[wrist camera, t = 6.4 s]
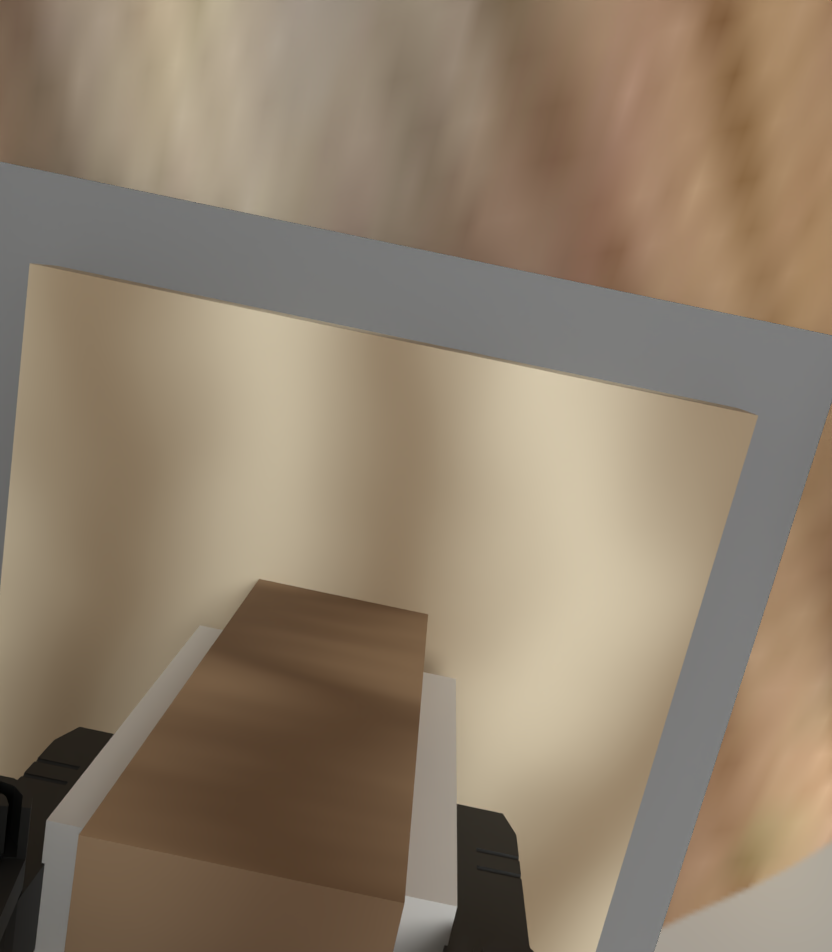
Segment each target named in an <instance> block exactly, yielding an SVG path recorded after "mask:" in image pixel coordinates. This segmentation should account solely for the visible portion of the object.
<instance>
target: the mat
mask: <svg viewBox="0 0 832 952" xmlns="http://www.w3.org/2000/svg"><path fill="white" fill-rule="evenodd" d="M30 263H33V264H44V265H54V266H61V267H65V268H70V269H75V270H80V271H85V272H89V273H94V274H99V275H104V276H108V277H113V278H118V279H123V280H128V281H132V282H137V283H142V284H147V285H152V286H156V287H161V288H166V289H171V290H175V291H180V292H185V293H190V294H195V295H199V296H204V297H209V298H214V299H218V300H223V301H228V302H233V303H238V304H242V305H247V306H252V307H257V308H262V309H266V310H271V311H276V312H281V313H285V314H290V315H295V316H300V317H305V318H309V319H314V320H319V321H324V322H329V323H333V324H338V325H343V326H348V327H352V328H357V329H362V330H367V331H372V332H376V333H381V334H386V335H391V336H396V337H400V338H405V339H410V340H415V341H419V342H424V343H429V344H434V345H439V346H443V347H448V348H453V349H458V350H462V351H467V352H472V353H477V354H482V355H486V356H491V357H496V358H501V359H506V360H510V361H515V362H520V363H525V364H529V365H534V366H539V367H544V368H549V369H553V370H558V371H563V372H568V373H573V374H577V375H582V376H587V377H592V378H596V379H601V380H606V381H611V382H616V383H620V384H625V385H630V386H635V387H640V388H644V389H649V390H654V391H659V392H663V393H668V394H673V395H678V396H683V397H687V398H692V399H697V400H702V401H707V402H711V403H716V404H721V405H726V406H730V407H735V408H739V409H742V410H745V411H748V412H750V413H753V414H756V415H758V418H757V421H756V425H755V428H754V431H753V435H752V438H751V441H750V445H749V448H748V451H747V454H746V458H745V461H744V464H743V468H742V471H741V474H740V478H739V481H738V484H737V487H736V491H735V494H734V497H733V501H732V504H731V507H730V510H729V514H728V517H727V520H726V524H725V527H724V530H723V534H722V537H721V540H720V543H719V547H718V550H717V553H716V557H715V560H714V563H713V566H712V570H711V573H710V576H709V580H708V583H707V586H706V590H705V593H704V596H703V599H702V603H701V606H700V609H699V613H698V616H697V619H696V623H695V626H694V629H693V632H692V636H691V639H690V642H689V646H688V649H687V652H686V655H685V659H684V662H683V665H682V669H681V672H680V675H679V679H678V682H677V685H676V688H675V692H674V695H673V698H672V702H671V705H670V708H669V712H668V715H667V718H666V721H665V725H664V728H663V731H662V735H661V738H660V741H659V744H658V748H657V751H656V754H655V758H654V761H653V764H652V768H651V771H650V774H649V777H648V781H647V784H646V787H645V791H644V794H643V797H642V801H641V804H640V807H639V810H638V814H637V817H636V820H635V824H634V827H633V830H632V833H631V837H630V840H629V843H628V847H627V850H626V853H625V857H624V860H623V863H622V866H621V870H620V873H619V876H618V880H617V883H616V886H615V890H614V893H613V896H612V899H611V903H610V906H609V909H608V913H607V916H606V919H605V922H604V926H603V929H602V932H601V936H600V939H599V942H598V946H597V949H596V952H654V950H655V947H656V944H657V941H658V938H659V935H660V932H661V929H662V926H663V922H664V919H665V916H666V913H667V910H668V907H669V904H670V901H671V898H672V895H673V891H674V888H675V885H676V882H677V879H678V876H679V873H680V870H681V867H682V864H683V861H684V857H685V854H686V851H687V848H688V845H689V842H690V839H691V836H692V833H693V830H694V827H695V823H696V820H697V817H698V814H699V811H700V808H701V805H702V802H703V799H704V796H705V792H706V789H707V786H708V783H709V780H710V777H711V774H712V771H713V768H714V765H715V762H716V758H717V755H718V752H719V749H720V746H721V743H722V740H723V737H724V734H725V731H726V727H727V724H728V721H729V718H730V715H731V712H732V709H733V706H734V703H735V700H736V697H737V693H738V690H739V687H740V684H741V681H742V678H743V675H744V672H745V669H746V666H747V663H748V659H749V656H750V653H751V650H752V647H753V644H754V641H755V638H756V635H757V632H758V628H759V625H760V622H761V619H762V616H763V613H764V610H765V607H766V604H767V601H768V598H769V594H770V591H771V588H772V585H773V582H774V579H775V576H776V573H777V570H778V567H779V563H780V560H781V557H782V554H783V551H784V548H785V545H786V542H787V539H788V536H789V533H790V529H791V526H792V523H793V520H794V517H795V514H796V511H797V508H798V505H799V502H800V499H801V495H802V492H803V489H804V486H805V483H806V480H807V477H808V474H809V471H810V468H811V464H812V461H813V458H814V455H815V452H816V449H817V446H818V443H819V440H820V437H821V434H822V430H823V427H824V424H825V421H826V418H827V415H828V412H829V409H830V406H831V403H832V335H828V334H823V333H818V332H813V331H809V330H804V329H799V328H794V327H789V326H785V325H780V324H775V323H770V322H766V321H761V320H756V319H751V318H746V317H742V316H737V315H732V314H727V313H722V312H718V311H713V310H708V309H703V308H699V307H694V306H689V305H684V304H679V303H675V302H670V301H665V300H660V299H655V298H651V297H646V296H641V295H636V294H631V293H627V292H622V291H617V290H612V289H608V288H603V287H598V286H593V285H588V284H584V283H579V282H574V281H569V280H564V279H560V278H555V277H550V276H545V275H540V274H536V273H531V272H526V271H521V270H517V269H512V268H507V267H502V266H497V265H493V264H488V263H483V262H478V261H473V260H469V259H464V258H459V257H454V256H449V255H445V254H440V253H435V252H430V251H426V250H421V249H416V248H411V247H406V246H402V245H397V244H392V243H387V242H382V241H378V240H373V239H368V238H363V237H358V236H354V235H349V234H344V233H339V232H335V231H330V230H325V229H320V228H315V227H311V226H306V225H301V224H296V223H291V222H287V221H282V220H277V219H272V218H267V217H263V216H258V215H253V214H248V213H244V212H239V211H234V210H229V209H224V208H220V207H215V206H210V205H205V204H200V203H196V202H191V201H186V200H181V199H176V198H172V197H167V196H162V195H157V194H153V193H148V192H143V191H138V190H133V189H129V188H124V187H119V186H114V185H109V184H105V183H100V182H95V181H90V180H85V179H81V178H76V177H71V176H66V175H62V174H57V173H52V172H47V171H42V170H38V169H33V168H28V167H23V166H18V165H14V164H9V163H4V162H0V585H1V574H2V563H3V552H4V541H5V530H6V519H7V508H8V497H9V486H10V475H11V464H12V453H13V442H14V431H15V420H16V408H17V397H18V386H19V375H20V364H21V353H22V342H23V331H24V320H25V309H26V298H27V287H28V276H29V265H30Z"/></svg>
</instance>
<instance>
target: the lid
mask: <svg viewBox="0 0 832 952" xmlns="http://www.w3.org/2000/svg"><path fill="white" fill-rule="evenodd" d="M757 418H758V415H756V414H753V413H750V412H748V411H745V410H742V409H739V408H735V407H730V406H726V405H721V404H716V403H711V402H707V401H702V400H697V399H692V398H687V397H683V396H678V395H673V394H668V393H663V392H659V391H654V390H649V389H644V388H640V387H635V386H630V385H625V384H620V383H616V382H611V381H606V380H601V379H596V378H592V377H587V376H582V375H577V374H573V373H568V372H563V371H558V370H553V369H549V368H544V367H539V366H534V365H529V364H525V363H520V362H515V361H510V360H506V359H501V358H496V357H491V356H486V355H482V354H477V353H472V352H467V351H462V350H458V349H453V348H448V347H443V346H439V345H434V344H429V343H424V342H419V341H415V340H410V339H405V338H400V337H396V336H391V335H386V334H381V333H376V332H372V331H367V330H362V329H357V328H352V327H348V326H343V325H338V324H333V323H329V322H324V321H319V320H314V319H309V318H305V317H300V316H295V315H290V314H285V313H281V312H276V311H271V310H266V309H262V308H257V307H252V306H247V305H242V304H238V303H233V302H228V301H223V300H218V299H214V298H209V297H204V296H199V295H195V294H190V293H185V292H180V291H175V290H171V289H166V288H161V287H156V286H152V285H147V284H142V283H137V282H132V281H128V280H123V279H118V278H113V277H108V276H104V275H99V274H94V273H89V272H85V271H80V270H75V269H70V268H65V267H61V266H54V265H44V264H33V263H30V265H29V276H28V287H27V298H26V309H25V320H24V331H23V342H22V353H21V364H20V375H19V386H18V397H17V408H16V420H15V431H14V442H13V453H12V464H11V475H10V486H9V497H8V508H7V519H6V530H5V541H4V552H3V563H2V574H1V585H0V775H1V776H6V777H11V778H15V779H16V780H18V779H19V778H20V777H21V776H22V777H23V775H24V772H25V771H26V770H27V769H28V768H29V767H30V766H31V765H32V763H33V762H34V761H35V762H36V761H37V759H38V757H39V756H40V755H41V754H42V753H43V751H44V750H45V749H46V748H47V747H48V746H49V745H50V744H51V743H52V742H53V741H54V740H55V739H57V738H59V737H61V736H63V735H64V734H66V733H68V732H70V731H72V730H74V729H76V728H78V727H84V728H88V729H93V730H98V731H103V732H107V733H112V734H115V732H116V731H117V730H118V729H119V727H120V726H121V725H122V724H123V722H124V721H125V720H126V718H127V717H128V716H129V715H130V713H131V712H132V711H133V710H134V708H135V707H136V706H137V705H138V703H139V702H140V701H141V699H142V698H143V697H144V696H145V694H146V693H147V692H148V691H149V689H150V688H151V687H152V685H153V684H154V683H155V682H156V680H157V679H158V678H159V677H160V675H161V674H162V673H163V671H164V670H165V669H166V668H167V666H168V665H169V664H170V663H171V661H172V660H173V659H174V658H175V656H176V655H177V654H178V652H179V651H180V650H181V649H182V647H183V646H184V645H185V644H186V642H187V641H188V640H189V638H190V637H191V636H192V635H193V633H194V632H195V631H196V630H197V628H198V627H199V626H200V625H202V626H206V627H211V628H216V629H221V630H223V631H222V632H221V634H220V635H219V636H218V638H217V639H216V641H215V642H214V644H213V645H212V646H211V648H210V649H209V651H208V652H207V653H206V655H205V656H204V658H203V659H202V661H201V662H200V663H199V665H198V666H197V668H196V669H195V670H194V672H193V673H192V675H191V676H190V678H189V679H188V680H187V682H186V683H185V685H184V686H183V688H182V689H181V690H180V692H179V693H178V695H177V696H176V697H175V699H174V700H173V702H172V703H171V705H170V706H169V707H168V709H167V710H166V712H165V713H164V714H163V716H162V717H161V719H160V720H159V722H158V723H157V724H156V726H155V727H154V729H153V730H152V731H151V733H150V734H149V736H148V737H147V739H146V740H145V741H144V743H143V744H142V746H141V747H140V749H139V750H138V751H137V753H136V754H135V756H134V757H133V758H132V760H131V761H130V763H129V764H128V766H127V767H126V768H125V770H124V771H123V773H122V774H121V775H120V777H119V778H118V780H117V781H116V783H115V784H114V785H113V787H112V788H111V790H110V791H109V792H108V794H107V795H106V797H105V798H104V800H103V801H102V802H101V804H100V805H99V807H98V808H97V809H96V811H95V812H94V814H93V815H92V817H91V818H90V819H89V821H88V822H87V824H86V825H85V827H84V828H83V829H82V831H81V832H80V834H79V836H78V844H77V852H76V860H75V868H74V877H73V885H72V893H71V901H70V909H69V917H68V925H67V933H66V941H65V949H64V952H393V950H394V946H395V942H396V937H397V933H398V929H399V925H400V920H401V916H402V912H403V908H404V903H405V891H406V879H407V867H408V855H409V842H410V830H411V818H412V806H413V793H414V781H415V769H416V757H417V744H418V732H419V720H420V708H421V695H422V683H423V672H426V673H430V674H435V675H440V676H445V677H450V678H454V679H456V775H457V804H460V805H465V806H470V807H475V808H479V809H484V810H489V811H494V812H498V813H503V814H504V816H505V818H506V819H507V821H508V822H509V824H510V826H511V827H512V829H513V830H514V832H515V833H516V836H517V844H518V853H519V860H518V861H520V870H521V879H522V887H523V895H524V904H525V912H526V921H527V929H528V937H529V946H530V948H531V949H532V950H533V951H534V952H596V949H597V946H598V942H599V939H600V936H601V932H602V929H603V926H604V922H605V919H606V916H607V913H608V909H609V906H610V903H611V899H612V896H613V893H614V890H615V886H616V883H617V880H618V876H619V873H620V870H621V866H622V863H623V860H624V857H625V853H626V850H627V847H628V843H629V840H630V837H631V833H632V830H633V827H634V824H635V820H636V817H637V814H638V810H639V807H640V804H641V801H642V797H643V794H644V791H645V787H646V784H647V781H648V777H649V774H650V771H651V768H652V764H653V761H654V758H655V754H656V751H657V748H658V744H659V741H660V738H661V735H662V731H663V728H664V725H665V721H666V718H667V715H668V712H669V708H670V705H671V702H672V698H673V695H674V692H675V688H676V685H677V682H678V679H679V675H680V672H681V669H682V665H683V662H684V659H685V655H686V652H687V649H688V646H689V642H690V639H691V636H692V632H693V629H694V626H695V623H696V619H697V616H698V613H699V609H700V606H701V603H702V599H703V596H704V593H705V590H706V586H707V583H708V580H709V576H710V573H711V570H712V566H713V563H714V560H715V557H716V553H717V550H718V547H719V543H720V540H721V537H722V534H723V530H724V527H725V524H726V520H727V517H728V514H729V510H730V507H731V504H732V501H733V497H734V494H735V491H736V487H737V484H738V481H739V478H740V474H741V471H742V468H743V464H744V461H745V458H746V454H747V451H748V448H749V445H750V441H751V438H752V435H753V431H754V428H755V425H756V421H757Z"/></svg>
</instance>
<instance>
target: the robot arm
mask: <svg viewBox="0 0 832 952" xmlns="http://www.w3.org/2000/svg"><path fill="white" fill-rule="evenodd" d="M222 631H223V630H221V629H216V628H211V627H206V626H202V625H200V626H199V627H198V628H197V630H196V631H195V632H194V633H193V635H192V636H191V637H190V638H189V640H188V641H187V642H186V644H185V645H184V646H183V647H182V649H181V650H180V651H179V652H178V654H177V655H176V656H175V658H174V659H173V660H172V661H171V663H170V664H169V665H168V666H167V668H166V669H165V670H164V671H163V673H162V674H161V675H160V677H159V678H158V679H157V680H156V682H155V683H154V684H153V685H152V687H151V688H150V689H149V691H148V692H147V693H146V694H145V696H144V697H143V698H142V699H141V701H140V702H139V703H138V705H137V706H136V707H135V708H134V710H133V711H132V712H131V713H130V715H129V716H128V717H127V718H126V720H125V721H124V722H123V724H122V725H121V726H120V727H119V729H118V730H117V731H116V732H115V734H112V733H107V732H103V731H98V730H93V729H88V728H84V727H78V728H76V729H74V730H72V731H70V732H68V733H66V734H64V735H63V736H61V737H59V738H57V739H55V740H54V741H53V742H52V743H51V744H50V745H49V746H48V747H47V748H46V749H45V750H44V751H43V753H42V754H41V755H40V756H39V757H38V759H37V761H36V762H35V761H34V762H33V763H32V765H31V766H30V767H29V768H28V769H27V770H26V771H25V772H24V775H23V777H22V776H21V777H20V778H19V779H18V780H16V779H15V778H11V777H6V776H1V775H0V952H64V949H65V941H66V933H67V925H68V917H69V909H70V901H71V893H72V885H73V877H74V868H75V860H76V852H77V844H78V836H79V834H80V832H81V831H82V829H83V828H84V827H85V825H86V824H87V822H88V821H89V819H90V818H91V817H92V815H93V814H94V812H95V811H96V809H97V808H98V807H99V805H100V804H101V802H102V801H103V800H104V798H105V797H106V795H107V794H108V792H109V791H110V790H111V788H112V787H113V785H114V784H115V783H116V781H117V780H118V778H119V777H120V775H121V774H122V773H123V771H124V770H125V768H126V767H127V766H128V764H129V763H130V761H131V760H132V758H133V757H134V756H135V754H136V753H137V751H138V750H139V749H140V747H141V746H142V744H143V743H144V741H145V740H146V739H147V737H148V736H149V734H150V733H151V731H152V730H153V729H154V727H155V726H156V724H157V723H158V722H159V720H160V719H161V717H162V716H163V714H164V713H165V712H166V710H167V709H168V707H169V706H170V705H171V703H172V702H173V700H174V699H175V697H176V696H177V695H178V693H179V692H180V690H181V689H182V688H183V686H184V685H185V683H186V682H187V680H188V679H189V678H190V676H191V675H192V673H193V672H194V670H195V669H196V668H197V666H198V665H199V663H200V662H201V661H202V659H203V658H204V656H205V655H206V653H207V652H208V651H209V649H210V648H211V646H212V645H213V644H214V642H215V641H216V639H217V638H218V636H219V635H220V634H221V632H222ZM518 860H519V853H518V844H517V836H516V833H515V832H514V830H513V829H512V827H511V826H510V824H509V822H508V821H507V819H506V818H505V816H504V814H503V813H498V812H494V811H489V810H484V809H479V808H475V807H470V806H465V805H460V804H457V775H456V679H454V678H450V677H445V676H440V675H435V674H430V673H426V672H423V683H422V695H421V708H420V720H419V732H418V744H417V757H416V769H415V781H414V793H413V806H412V818H411V830H410V842H409V855H408V867H407V879H406V891H405V903H404V908H403V912H402V916H401V920H400V925H399V929H398V933H397V937H396V942H395V946H394V950H393V952H534V951H533V950H532V949H531V948H530V946H529V937H528V929H527V921H526V912H525V904H524V895H523V887H522V879H521V870H520V861H518Z"/></svg>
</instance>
